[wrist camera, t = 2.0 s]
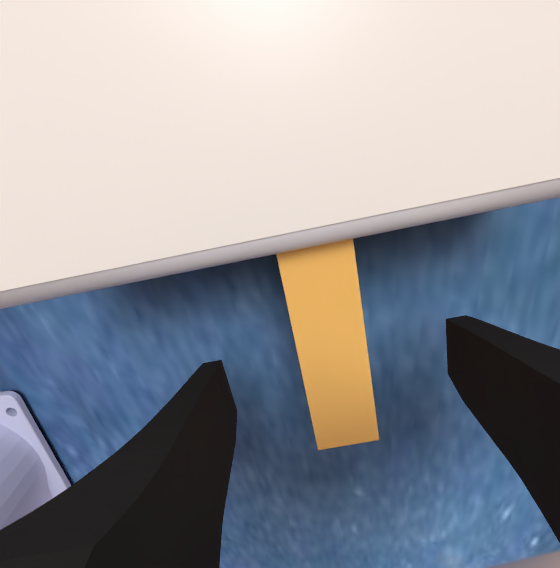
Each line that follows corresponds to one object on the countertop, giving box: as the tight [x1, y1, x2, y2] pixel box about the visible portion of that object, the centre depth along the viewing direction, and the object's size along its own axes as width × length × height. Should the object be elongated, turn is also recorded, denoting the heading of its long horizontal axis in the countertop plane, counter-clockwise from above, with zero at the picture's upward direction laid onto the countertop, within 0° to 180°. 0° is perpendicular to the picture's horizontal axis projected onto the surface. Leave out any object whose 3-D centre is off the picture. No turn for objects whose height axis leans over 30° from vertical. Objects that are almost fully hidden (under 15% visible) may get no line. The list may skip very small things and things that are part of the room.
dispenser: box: [0, 0, 560, 309], centre depth 10 cm, size 10×16×7 cm, turn 101°
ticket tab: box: [276, 239, 379, 450], centre depth 12 cm, size 14×2×5 cm, turn 11°
